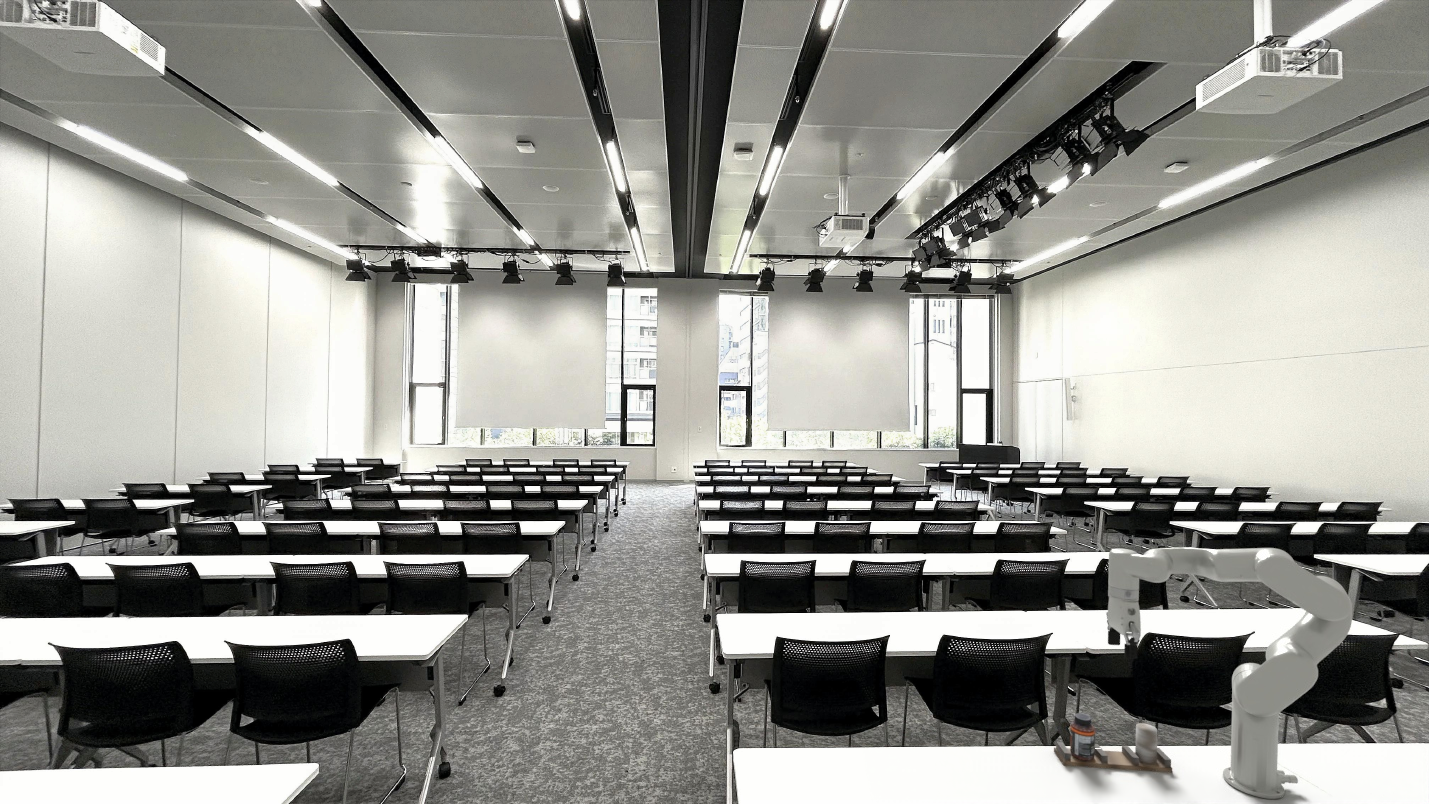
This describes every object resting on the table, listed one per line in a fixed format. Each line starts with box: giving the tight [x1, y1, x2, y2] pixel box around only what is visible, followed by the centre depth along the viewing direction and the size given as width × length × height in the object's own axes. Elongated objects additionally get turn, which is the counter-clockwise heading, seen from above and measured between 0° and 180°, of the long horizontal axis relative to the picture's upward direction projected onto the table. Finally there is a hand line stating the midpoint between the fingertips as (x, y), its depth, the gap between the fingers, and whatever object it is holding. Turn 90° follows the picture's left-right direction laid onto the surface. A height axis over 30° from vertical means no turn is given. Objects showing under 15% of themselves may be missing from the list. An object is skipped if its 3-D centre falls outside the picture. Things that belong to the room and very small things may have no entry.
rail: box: [1053, 722, 1173, 773], centre depth 186 cm, size 28×7×10 cm, turn 84°
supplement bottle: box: [1069, 712, 1096, 761], centre depth 186 cm, size 6×6×11 cm
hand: (1122, 651), depth 192 cm, fingers open, 9 cm apart
